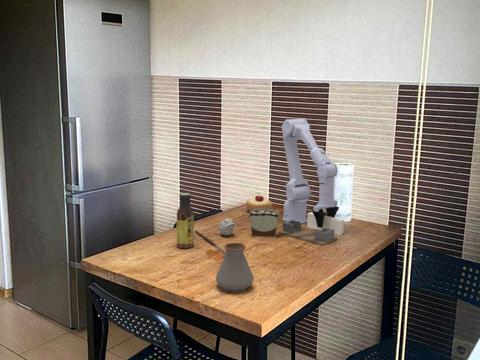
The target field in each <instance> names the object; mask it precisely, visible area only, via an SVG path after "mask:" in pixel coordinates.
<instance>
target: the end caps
mask: <svg viewBox="0 0 480 360" xmlns="http://www.w3.org/2000/svg"><path fill="white" fill-rule="evenodd" d="M294 229H295V230H299V231H300V230H301V229H302V224H301V222H300V221H296V220H289V221H284V222H282V231H285V232H288V233H293V232H294ZM314 232H315V240H319V241H322V242H327V241H330V240H332V239H334V237H335V234H334V230H333V229H329V228H323V231H321V230H317V229H315V231H314Z"/></svg>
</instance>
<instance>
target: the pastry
mask: <svg viewBox="0 0 480 360" xmlns="http://www.w3.org/2000/svg"><path fill="white" fill-rule="evenodd" d="M257 193H258V195H256V196H255V197H254V198H249V199H247V200H246V201H245V206H246V210H247V211H248V212H249V213H250V211H252V210H255V209H272V208H273V203H272V201H271V200H269V199H267V198H265V197H264V196H263V195H260V192H257Z"/></svg>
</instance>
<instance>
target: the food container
mask: <svg viewBox="0 0 480 360" xmlns="http://www.w3.org/2000/svg"><path fill="white" fill-rule="evenodd" d="M247 217H248V218H249V220H250V222H249V223H250V230H251V234H250V235H251V237H252V238H273V239H274V238H277V237H276V236H277V229H278V222H279V219H281V218H280V217H281V215H280V212H279V211H278V210H275V209H272V208H271V209H255V210H252V211H250V212H249V213H248V215H247Z"/></svg>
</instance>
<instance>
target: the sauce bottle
mask: <svg viewBox="0 0 480 360" xmlns="http://www.w3.org/2000/svg"><path fill="white" fill-rule="evenodd" d="M191 197H192V195H191V193H189V192H181V193H179V207H178V208H177V211H176V245H177V248H179V249H190V248H192V247H193V246H194V241H195V240H194V239H195V233H194V232H195V231H194V230H195V229H194V228H195V226H194V225H195V221H194V219H195V214H194V212H193V209H192V206H191ZM193 233H194V234H193ZM192 235H193V236H192Z"/></svg>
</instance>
